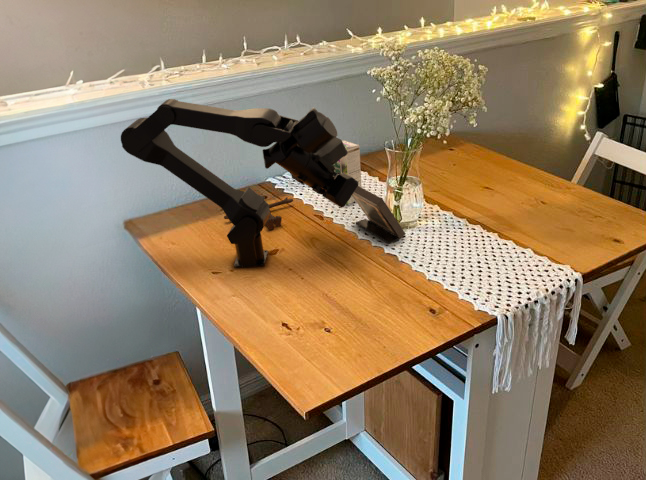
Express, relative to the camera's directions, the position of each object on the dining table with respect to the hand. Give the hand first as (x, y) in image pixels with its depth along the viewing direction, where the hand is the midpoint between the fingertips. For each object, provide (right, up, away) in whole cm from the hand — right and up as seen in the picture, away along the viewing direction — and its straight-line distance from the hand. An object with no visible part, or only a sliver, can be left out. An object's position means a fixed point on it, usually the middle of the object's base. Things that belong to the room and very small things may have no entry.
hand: (349, 198), depth 146 cm
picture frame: (+8, -5, +11) cm, 15 cm away
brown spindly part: (-22, -2, +18) cm, 28 cm away
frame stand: (+6, -7, +9) cm, 13 cm away
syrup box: (-2, +3, +26) cm, 26 cm away
